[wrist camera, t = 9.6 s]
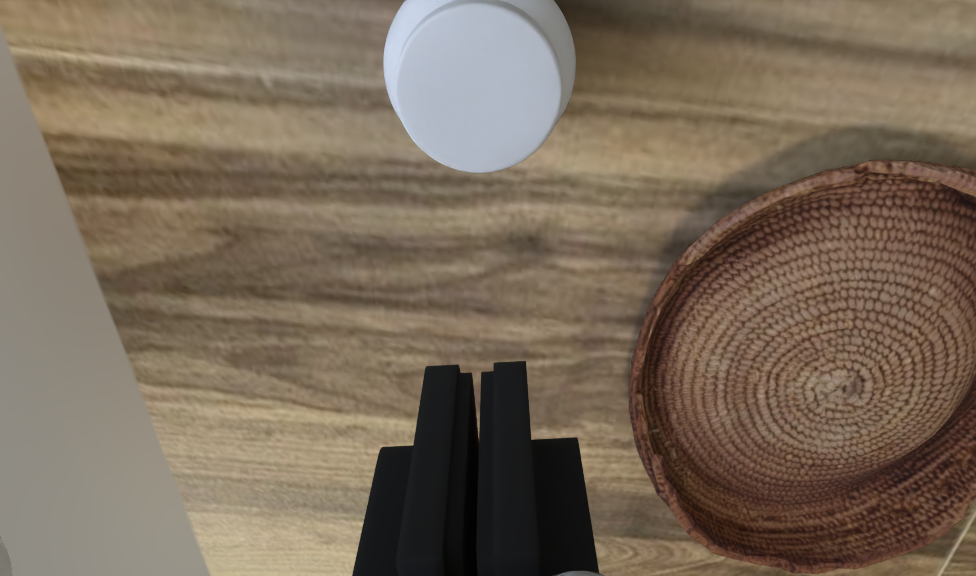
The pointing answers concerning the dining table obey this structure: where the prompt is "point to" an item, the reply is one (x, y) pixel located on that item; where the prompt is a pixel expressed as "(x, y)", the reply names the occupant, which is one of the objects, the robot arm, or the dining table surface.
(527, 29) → the pill bottle
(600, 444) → the dining table surface
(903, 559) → the dining table surface
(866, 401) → the basket
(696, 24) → the dining table surface
